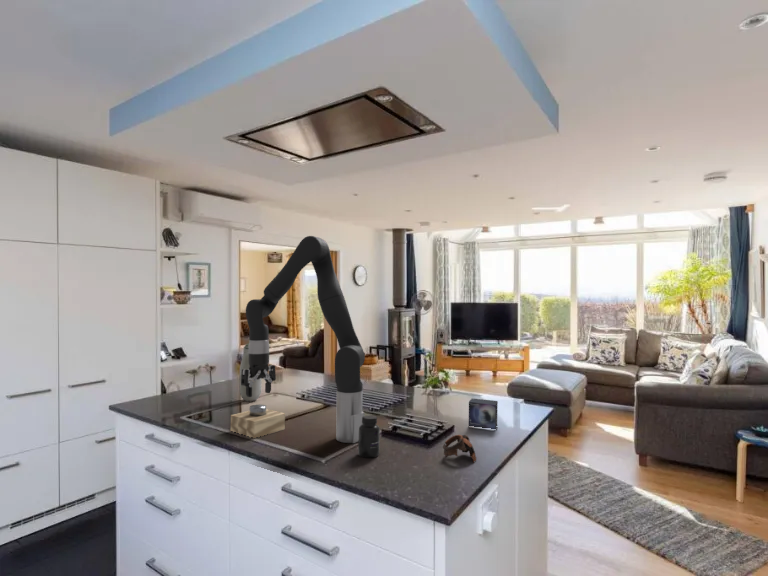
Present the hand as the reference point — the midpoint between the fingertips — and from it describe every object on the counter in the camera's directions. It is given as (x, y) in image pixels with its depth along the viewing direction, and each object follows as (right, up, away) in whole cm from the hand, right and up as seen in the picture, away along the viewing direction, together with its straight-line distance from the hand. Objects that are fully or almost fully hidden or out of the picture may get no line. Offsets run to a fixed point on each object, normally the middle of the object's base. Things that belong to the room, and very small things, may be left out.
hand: (258, 394), depth 163 cm
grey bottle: (-17, -15, +46) cm, 51 cm away
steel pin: (0, -13, 0) cm, 13 cm away
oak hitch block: (0, -13, 0) cm, 13 cm away
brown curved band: (+72, -14, -27) cm, 78 cm away
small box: (+86, -15, +6) cm, 88 cm away
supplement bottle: (+43, -13, -25) cm, 51 cm away
